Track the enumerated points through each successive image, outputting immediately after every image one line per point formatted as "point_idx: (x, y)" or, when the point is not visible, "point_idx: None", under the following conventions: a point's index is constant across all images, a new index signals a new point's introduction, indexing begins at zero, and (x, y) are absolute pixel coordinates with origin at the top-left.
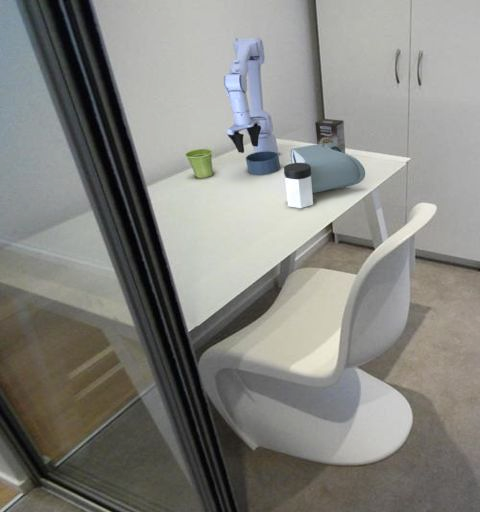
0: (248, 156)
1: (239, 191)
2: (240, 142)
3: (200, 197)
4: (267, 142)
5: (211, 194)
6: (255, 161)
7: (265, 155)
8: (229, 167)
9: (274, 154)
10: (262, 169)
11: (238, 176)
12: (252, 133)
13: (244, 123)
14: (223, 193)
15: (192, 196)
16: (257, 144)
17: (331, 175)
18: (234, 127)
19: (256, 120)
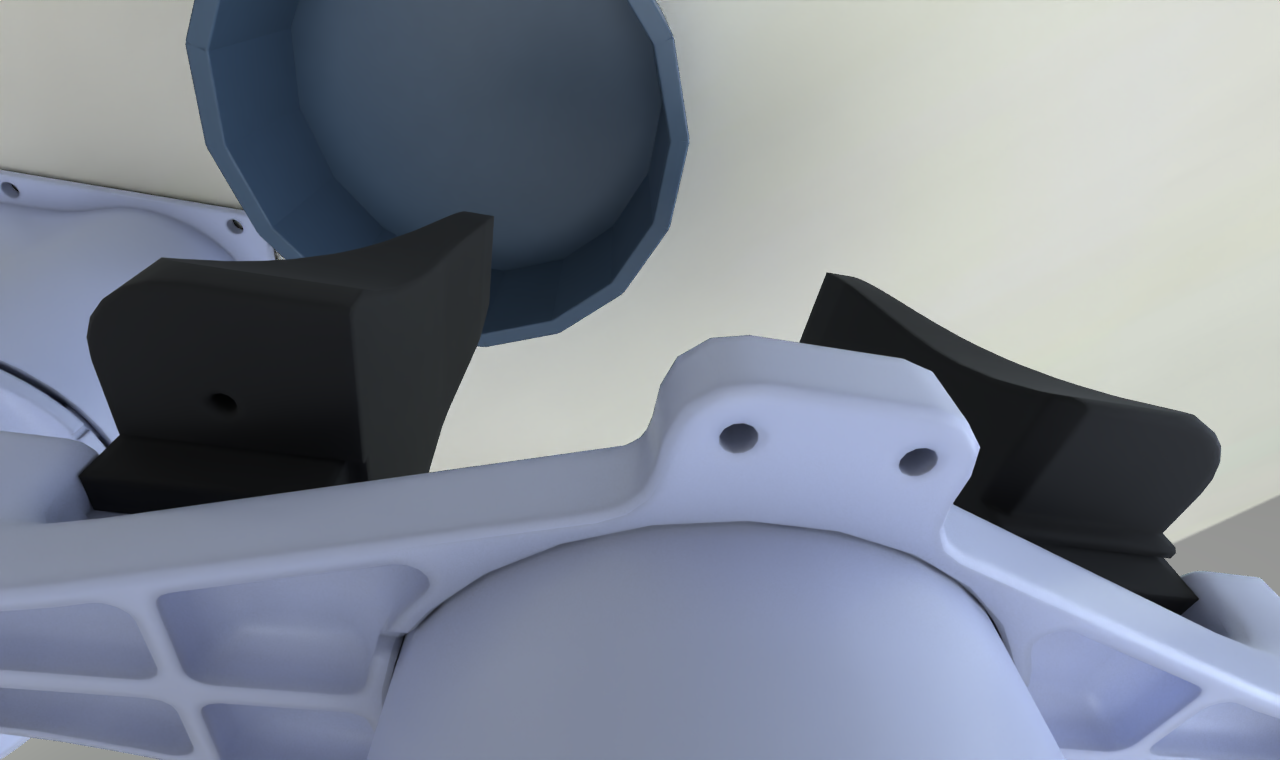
0: (498, 327)
1: (1185, 22)
2: (1000, 360)
3: (1232, 319)
4: (18, 300)
5: (1187, 269)
6: (672, 125)
7: (286, 190)
8: (551, 446)
9: (229, 25)
10: (661, 12)
11: (745, 267)
12: (424, 400)
13: (1018, 698)
14: (1194, 173)
15: (1187, 385)
16: (472, 216)
17: None
18: (1141, 745)
19: (19, 578)
